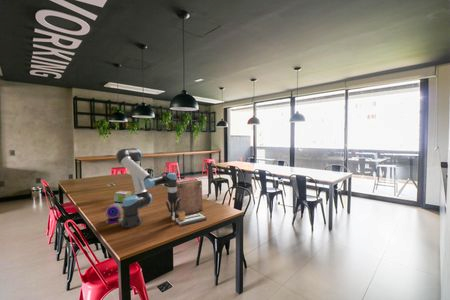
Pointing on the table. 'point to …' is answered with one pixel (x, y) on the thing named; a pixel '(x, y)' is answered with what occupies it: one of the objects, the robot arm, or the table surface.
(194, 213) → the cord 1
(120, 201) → the tea box
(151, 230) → the table surface
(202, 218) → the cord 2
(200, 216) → the panel
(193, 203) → the book
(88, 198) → the table surface
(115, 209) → the webcam
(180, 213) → the lever
